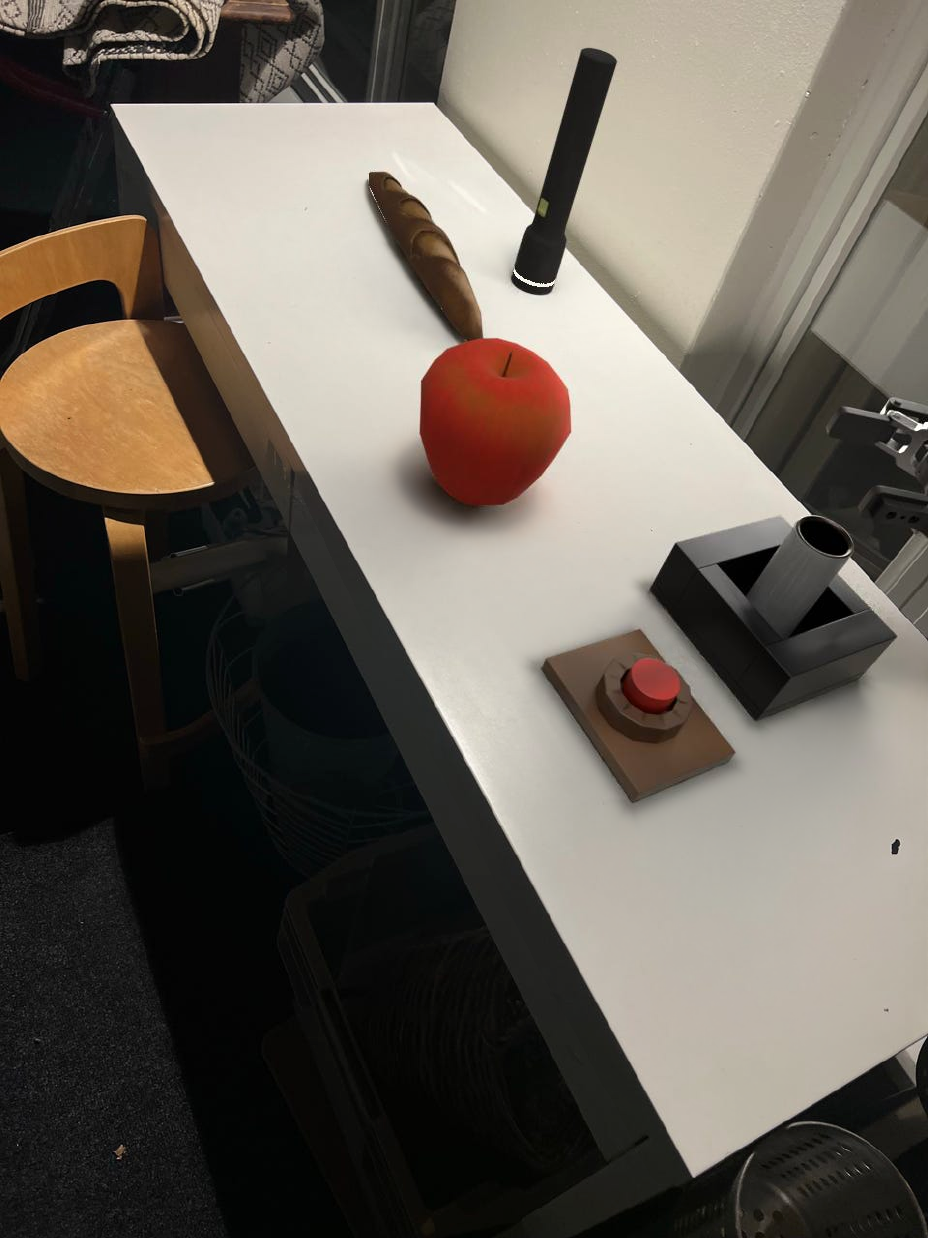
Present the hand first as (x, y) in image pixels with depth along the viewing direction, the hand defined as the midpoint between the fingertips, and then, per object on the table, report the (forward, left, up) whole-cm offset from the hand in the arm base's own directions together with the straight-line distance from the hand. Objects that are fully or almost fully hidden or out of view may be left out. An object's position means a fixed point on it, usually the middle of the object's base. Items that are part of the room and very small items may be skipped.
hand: (848, 459), depth 61 cm
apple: (+21, +13, -18) cm, 31 cm away
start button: (-4, +13, -16) cm, 21 cm away
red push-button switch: (-4, +13, -18) cm, 23 cm away
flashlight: (+51, -12, -18) cm, 55 cm away
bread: (+57, 0, -18) cm, 60 cm away
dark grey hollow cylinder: (-1, -2, -17) cm, 17 cm away
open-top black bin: (-1, -2, -18) cm, 18 cm away
